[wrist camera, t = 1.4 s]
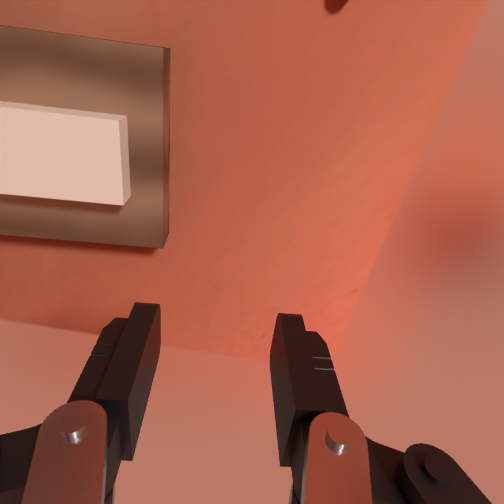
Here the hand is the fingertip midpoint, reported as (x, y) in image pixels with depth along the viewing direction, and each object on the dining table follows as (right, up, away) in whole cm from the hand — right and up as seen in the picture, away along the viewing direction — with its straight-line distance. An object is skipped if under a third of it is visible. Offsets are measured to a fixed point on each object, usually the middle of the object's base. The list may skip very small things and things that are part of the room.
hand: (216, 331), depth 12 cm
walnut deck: (-13, +11, +17) cm, 24 cm away
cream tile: (-13, +10, +15) cm, 22 cm away
